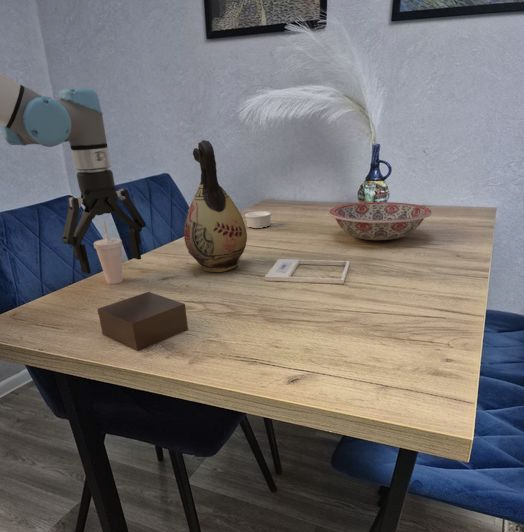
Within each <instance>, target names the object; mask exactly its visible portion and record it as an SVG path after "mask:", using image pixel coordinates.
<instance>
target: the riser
mask: <svg viewBox="0 0 524 532" xmlns="http://www.w3.org/2000/svg"><path fill="white" fill-rule="evenodd" d="M97 314H98V318H99V323H100V328H101V333H102V335H103V336H105V337H107V338H110V339H112V340H114V341H116V342H118V343H120V344H121V345H122V344H123V345H125V346H127V347H129V348H130V349H133V350H135V351H137V352H138V351H140V350H143V349H145V348H147V347H150V346H153V345H155V344H157V343H159V342H162V341H164V340H167V339H169V338H171V337H173V336H176V335H178V334H180V333H183V332H185V331H188V330H189V325H188V318H187V317H188V316H187V309H186V303H184V302H181V301H177V300H175V299H171V298H169V297H166V296H162V295H159V294H156V293H154V292H151V291H146V292H144V293H140V294H138V295H134V296H132V297H128V298H126V299H122V300H119V301H117V302H114V303H110V304H108V305H104V306H101V307H98V308H97Z"/></svg>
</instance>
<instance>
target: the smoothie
mask: <svg viewBox="0 0 524 532" xmlns="http://www.w3.org/2000/svg"><path fill="white" fill-rule="evenodd" d="M102 227H103V232H104V237H105V238H103V239H98V240H95V241H94V242H93V248H94V249H95V251H96V255H97V256H98V259H99V262H100V266H101V268H102V272H103V275H104V278H105V281H106V283H107V284H108V285H117V284H120V283H123V282H124V275H123V274H124V273H123V255H122V254H123V253H122V252H123V251H122V246H123V242H122V241H123V240H122V239H121V238H115V237H114V238H109V236H108V230H107V224H106V221H102Z"/></svg>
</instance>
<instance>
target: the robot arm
mask: <svg viewBox="0 0 524 532" xmlns="http://www.w3.org/2000/svg"><path fill="white" fill-rule="evenodd" d="M58 96H59V97H58V100H57V99H54V98H52V97H50V96H44V95H41V94H39V93H37V92H35V91H34V90H32V89H30V88H28V87H26V86H24V85H22V84H21V83H20V82H18V81H16V80H14V79H12V78H11V77H8V75H7V76H6V75H5V74H3V73H2V72H0V130H1V132H2V135H3V138H4V140H5V142H6V143H7V144H8V145H9V146H25V147H26V146H27V145H29V146H30V145H40V146H43V147H46V148H52V147H57V146H59V145H61V144H63V143H67V142H68V143H69V145H70V151H71V156H72V160H73V165H74V169H75V170H76V171H77V172H76V174H75V175H76V179H77V184H78V188H79V192H80V197H71V196H70V197H67V207H68V209H67V212H66V213H67V214H66V218H65V223H64V227H63V228H64V229H63V233H62V237H61V242H62V243H63V244H66V245H71V247H72V250H73V255H74V258H75V260H78V261H79V265H80V269H81V273H84V274H86V275H91V274H92V271H91V266H90V261H89V258H88V253H87V248H86V245H85V244H83V240H84V239H85V236H86V234H87V232H88V230H89V227H91V223H92V221H93V220H94V219H95V218H96V216H102V215H104V214H106V215H107V214H113V215H114V216H115V217H116V218H118V219H119V220H120V221H121V222H122V223H123V224H124V225H126V227H127V228H129V230H128V231H127V235H128V241H129V246H130V251H131V258H132V259H135V260H138V261H139V260H142V255H141V248H140V245H142V238H141V232H142V231H143V228H146V226H147V223H146V222H145V220H144V218H143V216H142V215H141V213H140V212H139V211H138V209H137V207H136V205H135V204H134V202H133V201H132V198H131V196H130V193H129V190H128V189H125V188H119V189H118V190H116V189H115V185H116V184H115V178H114V173H113V171H112V170H111V169H110V168H111V167H112V163H111V159H110V152H109V147H108V143H107V136H106V129H105V123H104V118H103V115H104V114H103V111H102V107H101V103H100V99H99V95H98V93H97V91H96V90H94V89H93V88H88V87H87V88H84V87H83V88H80V87H79V88H63V89H60V90H59V95H58ZM117 200H119V201H120V202H121V204H122V205H123V207H124V208H125V210H126V211H127V213H128V214H129V216H128V214H127V213H126V212H125V211H123V209H122V208H121V207H120V206H119V205H118V204H117ZM82 205H83V207H84V208H83V210H82V213H81V218H80V220H79V221H78V219H79V215H80V208H81V207H82Z"/></svg>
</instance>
